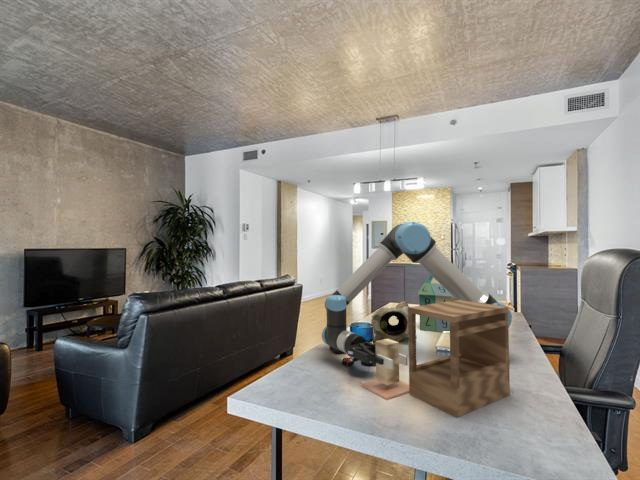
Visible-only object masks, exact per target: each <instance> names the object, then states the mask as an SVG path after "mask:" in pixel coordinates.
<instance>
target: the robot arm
mask: <svg viewBox="0 0 640 480" xmlns="http://www.w3.org/2000/svg"><path fill="white" fill-rule="evenodd" d="M402 255H404V256H406V258H407V259H408V260H410V262H412V263H413V264H420V265H421V266H422V268H424V269H425V270H426V271H427V272H428V273H429V275H430V274H431V275H432V276H433V277H434V278H435V279H436V280H437V281H438V282H439V283H440V284H441V285H442V286H443V287H444V288H445V289H446V290H447V291H448V292H449V293H450V294H451V295H452V296H454V297H455V298H456V299H457V300H465V301H472V302H479V303H485V304H492V305H499V306H506V307H508V306H507V305H506V304H504V303H502V302H499V301H497V300H496V298H494V296H493V295H491V294H490V293H489V291H487V290H480V289H479V287H477V286H476V285H475V284H474V283H473V282H472V281H471V280H470V279H469V277H467V276H466V275H465V274H464V273H463V272H462V271H461V270H460V269H459V268H458V267H457V266H456V265H455V264H454V263H453V262H452V261H451V260H449V259H448V257H447V256H446V255H445V254H444V253H442V252H441V251H440V249H438V247H437V241H436V239H434V238H433V237H432V236H431V233H430V231H429V229H428V228H427V227H426V226H425V225H424V224H422V223H420V222H417V221H407V222H403V223H399V224H397V225H395V226H394V227H393V228H392V229H390V231H389V232H388V233H387V235H386V236H385V237H384V238H383V239H382V240H381V241H380V242H379V244H378V247H377V249H376V250H374V252H373V253H372V254H371V255H369V257H368V258H367V259H366V260H365V261H364V262H363V263H362V264H361V265H360V266H359V267H358V268H357V269H356V270H355V271H354V272H353V273H352V274H351V275H350V276H349V277H348V278H347V279H346V280H345V281H344V282H343V283H342V284H341V285H340V286H339V287H338V288H337V289H336V290H335V291H334V292H333V293H332V294H331V295H329V296H327V297H326V299H325V301H324V307H325V311H326V312H325V313H326V326H325V327H324V328H323V329H322V332H321V339H322V342H324V344H326V345H327V346H329V348H330V347H333V348H336V349H338V350H340V351H342V352H345V353H346V354H345V355H347V356H348V357H350V358H351V357H354V358H356V359H358V361H360V362H361V361H363V362H365V363H367V364H369V363H370V362H372V365H373V366H375V365H376V363H377V364H380V365H382V366H384V367H386V368H389V369H391V370H393V369H394V366H393V360H392V359H390V358H387V357H385V356H382V355H380V354H377V356H376V344H372V343H370V342H367V341H368V340H367V339H366V338H365V337H364V336H363V335H360V334H358V333H355V332H353V331H349V330H348V329H347V306H348V305H350V303H351V302H352V301H353V300H354V299H355V298H356V297H357V296H358V295H359V294H360V293H361V292H362V291H363V290H364V289H365V288H366V287H367V286H368V285H369V284H370V283H371V282H372V281H373V280H374V279H375V278H376V277H377V276H378V275H379V274H380V273H381V272H382V271H383V270H384V269H385V268H386V267H387V266H388V265H389V264H390V263H391V262H392V261H397V260H398V259H399V258H400V256H402ZM512 318H513V314H512V312H511V309H510V308H509V307H508V329H509V328H510V326H511V324H512V321H513V320H512ZM399 365H402V366H406V367H407V366H408V367H409V355H405V354H403V353H400V352H399ZM375 367H376V366H375Z"/></svg>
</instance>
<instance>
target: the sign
mask: <svg viewBox="0 0 640 480" xmlns="http://www.w3.org/2000/svg"><path fill="white" fill-rule="evenodd" d="M378 340H379V339H376V340H372V341H373V344H376V343H375V341H378ZM329 350H330V352H332V353H333V354H335V355H339V356H340V355H347V354H346V353H345V352H342V351H340V350H338V349H336V348H333V347H330V346H329ZM341 361H342V362H341V365H342V366H345V367H346V368H348V369H349V368H351V367H353V365H354V364H355V362H358V361H359V360H358V359H356V358H354V357H351V356H350V357H343V358H342V359H341ZM360 363H361V366H363V367H368V368H370V367H371V368H372V367H373V368H374V367H375V368H376V365H375V366H373V365H372V362H370V363H369V364H367V363H365V362H363V361H360Z"/></svg>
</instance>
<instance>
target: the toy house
mask: <svg viewBox="0 0 640 480" xmlns="http://www.w3.org/2000/svg"><path fill="white" fill-rule="evenodd" d="M417 295H418V297H419V298H418V299H419V306H421V305H428V304H435V303H442V302H448V301H455V300H457V299H456V298H455V297H454V296H452V295H451V294H450V293H449V292H448V291H447V290H446V289H445V288H444V287H443V286H442V285H441V284H440V283H439V282H438V281H437V280H436V279H435V278H434V277H433V276H432V275H431V274H430V273H429V275H428V276H427V278H426V279H425V281H424V282H423V284H422V286H421V287H420V289H419V290H418V292H417ZM419 330H420V331H421V332H422V331H424V332H433V333H441V334H443V333H442V332H443V331H450V322H449V321H445V320H440V319H435V318H431V317H426V316H422V315H419Z"/></svg>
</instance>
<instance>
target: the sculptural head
mask: <svg viewBox="0 0 640 480" xmlns="http://www.w3.org/2000/svg"><path fill="white" fill-rule="evenodd" d="M408 307H410V306H409V304H408V302H406V301H404V300H403V301H401V302H398V304H396V306H395V307H381V308H378V309H376V310H375V311H374V312H373V313H372V315H371V319H370V321H371V322H370V323H371V326H372V325H373V327H374V332H373V333H374V335H376V336H377V337H379V338H380V339H382V340H383V339H390V340H393V341H396V342H401V341H403V340H405V339H407V338H409V334H408ZM392 317H396V320H397V324H391V323H390V322H389V321H390V319H391V318H392Z"/></svg>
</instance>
